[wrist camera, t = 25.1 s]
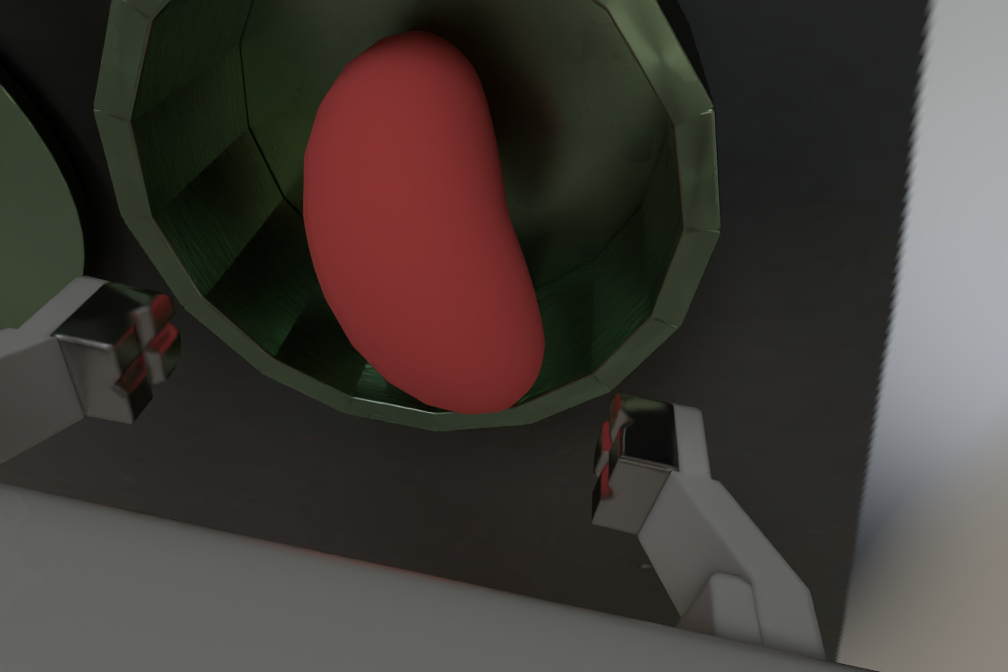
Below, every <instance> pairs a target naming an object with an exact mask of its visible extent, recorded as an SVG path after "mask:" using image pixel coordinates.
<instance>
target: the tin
mask: <svg viewBox="0 0 1008 672" xmlns="http://www.w3.org/2000/svg"><path fill="white" fill-rule="evenodd" d="M417 30H418V31H426V32H430V33H433V34H435V35H438V36H440V37H442V38H443V39H445V40H447V41H448V42H450V43H451V44H452V45H454V46H455V47H456V48H457V49H458V50H459V51H460V52H461V53H462V54H463V55H464V56H465V57H466V58H467V59H468V60H469V62H470V63H471V64H472V66H473V67H474V69H475V70H476V72H477V74H478V76H479V78H480V80H481V83H482V86H483V90H484V93H485V96H486V99H487V102H488V106H489V110H490V114H491V119H492V123H493V127H494V132H495V137H496V142H497V147H498V152H499V157H500V163H501V169H502V175H503V182H504V189H505V195H506V202H507V207H508V211H509V215H510V219H511V222H512V225H513V228H514V231H515V233H516V236H517V239H518V242H519V244H520V247H521V250H522V252H523V255H524V258H525V261H526V264H527V267H528V270H529V273H530V277H531V280H532V284H533V287H534V290H535V294H536V298H537V303H538V307H539V311H540V314H541V319H542V325H543V331H544V338H545V349H544V355H543V361H542V366H541V370H540V372H539V375H538V377H537V379H536V381H535V382H534V384H533V386H532V387H531V388H530V390H529V391H528V392H527V393H526V394H525V395H524V396H523V397H522V398H520V399H519V400H518V401H517V402H516V403H515V404H513V405H512V406H511V407H509V408H507V409H505V410H503V411H499V412H491V413H480V414H462V413H458V412H454V411H450V410H446V409H442V408H438V407H434V406H430V405H426V404H425V403H423V402H421V401H419V400H418V399H416V398H414V397H413V396H411V395H409V394H408V393H406V392H404V391H402V390H401V389H399V388H397V387H396V386H394V385H392V384H390V383H389V382H388V381H387V380H386V379H385V378H384V377H383V376H382V375H381V374H380V373H379V372H378V371H377V370H376V369H375V368H374V367H373V366H372V365H371V364H370V363H369V362H368V361H367V360H366V359H365V358H364V357H363V356H362V355H361V354H360V353H359V352H358V351H357V350H356V349H355V348H354V347H353V346H352V344H351V343H350V341H349V339H348V337H347V336H346V334H345V332H344V330H343V329H342V327H341V325H340V323H339V322H338V320H337V318H336V317H335V315H334V313H333V311H332V310H331V308H330V306H329V304H328V303H327V301H326V299H325V297H324V294H323V292H322V289H321V286H320V284H319V281H318V278H317V275H316V272H315V269H314V265H313V262H312V258H311V254H310V250H309V246H308V241H307V236H306V230H305V224H304V217H303V189H304V155H305V151H306V148H307V145H308V141H309V138H310V134H311V131H312V128H313V124H314V121H315V117H316V114H317V111H318V107H319V106H320V104H321V102H322V101H323V99H324V98H325V96H326V95H327V93H328V92H329V90H330V89H331V87H332V86H333V84H334V83H335V81H336V80H337V78H338V77H339V75H340V74H341V72H342V71H343V69H344V67H345V66H346V65H347V64H348V63H349V62H351V61H352V60H353V59H354V58H356V57H357V56H358V55H360V54H361V53H362V52H364V51H365V50H366V49H368V48H369V47H370V46H372V45H373V44H374V43H376V42H377V41H379V40H380V39H383V38H385V37H388V36H393V35H397V34H401V33H405V32H410V31H417ZM93 106H94V110H93V111H94V115H95V119H96V123H97V127H98V130H99V134H100V138H101V142H102V146H103V149H104V153H105V157H106V161H107V165H108V169H109V172H110V176H111V180H112V184H113V188H114V191H115V195H116V199H117V203H118V207H119V210H120V214H121V217H122V218H124V222H125V223H126V225H127V226H128V228H129V229H130V231H131V232H132V233H133V235H134V236H135V238H136V239H137V241H138V242H139V244H140V245H141V247H142V248H143V250H144V251H145V253H146V254H147V256H148V257H149V259H150V260H151V262H152V263H153V265H154V266H155V268H156V269H157V271H158V272H159V274H160V275H161V277H162V278H163V280H164V281H165V283H166V284H167V286H168V287H169V289H170V290H171V292H172V293H173V295H174V296H175V297H176V299H177V300H178V302H179V303H180V305H181V306H184V309H185V310H186V311H187V312H188V313H190V314H191V315H192V316H193V317H194V318H196V319H197V320H198V321H199V322H200V323H202V324H203V325H204V326H205V327H206V328H208V329H209V330H210V331H211V332H212V333H213V334H215V335H216V336H217V337H218V338H219V339H221V340H222V341H223V342H224V343H225V344H227V345H228V346H229V347H230V348H231V349H232V350H234V351H235V352H236V353H237V354H238V355H240V356H241V357H242V358H243V359H244V360H246V361H247V362H248V363H249V364H250V365H251V366H253V367H254V368H255V369H256V370H257V371H260V373H261V374H262V375H265V376H267V377H269V378H271V379H273V380H275V381H277V382H279V383H281V384H283V385H286V386H288V387H290V388H292V389H294V390H296V391H298V392H300V393H302V394H304V395H307V396H309V397H311V398H313V399H315V400H317V401H319V402H321V403H323V404H325V405H328V406H330V407H332V408H334V409H336V410H338V411H340V412H342V413H344V414H349V415H353V416H358V417H363V418H368V419H374V420H379V421H384V422H389V423H394V424H399V425H404V426H409V427H415V428H420V429H425V430H430V431H435V432H436V431H440V432H444V431H457V430H469V429H482V428H495V427H508V426H521V425H526V424H528V425H530V424H533V423H535V422H538V421H540V420H543V419H545V418H547V417H550V416H552V415H555V414H557V413H560V412H562V411H565V410H567V409H570V408H572V407H575V406H577V405H579V404H582V403H584V402H587V401H589V400H592V399H594V398H597V397H599V396H602V395H604V394H606V393H609V392H610V391H611V390H613V389H615V388H616V387H617V386H618V385H619V384H620V383H621V382H622V381H623V380H624V379H625V378H626V377H627V376H628V375H629V374H631V373H632V372H633V371H634V370H635V369H636V368H637V367H638V366H639V365H640V364H641V363H642V362H643V361H644V360H646V359H647V358H648V357H649V356H650V355H651V354H652V353H653V352H654V351H655V350H656V349H657V348H658V347H659V346H661V345H662V344H663V343H664V342H665V341H666V340H667V339H668V338H669V337H670V336H671V335H672V334H673V333H674V332H676V331H677V330H678V328H679V327H680V326H682V324H683V321H684V319H685V316H686V314H687V312H688V309H689V307H690V305H691V302H692V300H693V297H694V295H695V293H696V290H697V288H698V286H699V283H700V281H701V278H702V276H703V274H704V271H705V269H706V267H707V264H708V262H709V259H710V257H711V255H712V252H713V250H714V248H715V245H716V243H717V240H718V238H719V236H720V233H721V229H720V228H721V208H720V190H719V171H718V152H717V133H716V114H715V108H714V103H713V99H712V96H711V93H710V90H709V86H708V83H707V80H706V77H705V74H704V70H703V67H702V64H701V61H700V57H699V54H698V51H697V48H696V44H695V41H694V38H693V35H692V31H691V28H690V25H689V22H688V21H687V19H686V17H685V15H684V13H683V11H682V9H681V7H680V5H679V4H678V2H677V0H112V1H111V6H110V12H109V18H108V24H107V30H106V36H105V41H104V47H103V53H102V59H101V65H100V70H99V76H98V82H97V88H96V94H95V100H94V105H93Z"/></svg>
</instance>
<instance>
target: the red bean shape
mask: <svg viewBox="0 0 1008 672" xmlns="http://www.w3.org/2000/svg"><path fill="white" fill-rule="evenodd" d="M303 217H304V224H305V230H306V236H307V241H308V246H309V250H310V254H311V258H312V262H313V265H314V269H315V272H316V275H317V278H318V281H319V284H320V286H321V289H322V292H323V294H324V297H325V299H326V301H327V303H328V304H329V306H330V308H331V310H332V311H333V313H334V315H335V317H336V318H337V320H338V322H339V323H340V325H341V327H342V329H343V330H344V332H345V334H346V336H347V337H348V339H349V341H350V343H351V344H352V346H353V347H354V348H355V349H356V350H357V351H358V352H359V353H360V354H361V355H362V356H363V357H364V358H365V359H366V360H367V361H368V362H369V363H370V364H371V365H372V366H373V367H374V368H375V369H376V370H377V371H378V372H379V373H380V374H381V375H382V376H383V377H384V378H385V379H386V380H387V381H388V382H389V383H390V384H392V385H394V386H396V387H397V388H399V389H401V390H402V391H404V392H406V393H408V394H409V395H411V396H413V397H414V398H416V399H418V400H419V401H421V402H423V403H425V404H426V405H430V406H434V407H438V408H442V409H446V410H450V411H454V412H458V413H462V414H480V413H491V412H499V411H503V410H505V409H507V408H509V407H511V406H512V405H513V404H515V403H516V402H517V401H518V400H519V399H520V398H522V397H523V396H524V395H525V394H526V393H527V392H528V391H529V390H530V388H531V387H532V386H533V384H534V382H535V381H536V379H537V377H538V375H539V372H540V370H541V366H542V361H543V355H544V349H545V338H544V331H543V325H542V319H541V314H540V311H539V307H538V303H537V298H536V294H535V290H534V287H533V284H532V280H531V277H530V273H529V270H528V267H527V264H526V261H525V258H524V255H523V252H522V250H521V247H520V244H519V242H518V239H517V236H516V233H515V231H514V228H513V225H512V222H511V219H510V215H509V211H508V207H507V202H506V195H505V189H504V182H503V175H502V169H501V163H500V157H499V152H498V147H497V142H496V137H495V132H494V127H493V123H492V119H491V114H490V110H489V106H488V102H487V99H486V96H485V93H484V90H483V86H482V83H481V80H480V78H479V76H478V74H477V72H476V70H475V69H474V67H473V66H472V64H471V63H470V62H469V60H468V59H467V58H466V57H465V56H464V55H463V54H462V53H461V52H460V51H459V50H458V49H457V48H456V47H455V46H454V45H452V44H451V43H450V42H448V41H447V40H445V39H443V38H442V37H440V36H438V35H435V34H433V33H430V32H426V31H418V30H417V31H410V32H405V33H401V34H397V35H393V36H388V37H385V38H383V39H380V40H379V41H377V42H376V43H374V44H373V45H372V46H370V47H369V48H368V49H366V50H365V51H364V52H362V53H361V54H360V55H358V56H357V57H356V58H354V59H353V60H352V61H351V62H349V63H348V64H347V65H346V66H345V67H344V69H343V71H342V72H341V74H340V75H339V77H338V78H337V80H336V81H335V83H334V84H333V86H332V87H331V89H330V90H329V92H328V93H327V95H326V96H325V98H324V99H323V101H322V102H321V104H320V106H319V107H318V111H317V114H316V117H315V121H314V124H313V128H312V131H311V134H310V138H309V141H308V145H307V148H306V151H305V155H304V189H303Z"/></svg>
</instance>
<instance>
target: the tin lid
mask: <svg viewBox="0 0 1008 672" xmlns="http://www.w3.org/2000/svg"><path fill="white" fill-rule="evenodd" d="M92 256H93V236H92V225H91V221H90V216H89V212H88V208H87V203H86V200H85V197H84V195H83V192H82V189H81V186H80V184H79V181H78V178H77V176H76V174H75V172H74V170H73V168H72V166H71V164H70V161H69V159H68V157H67V155H66V153H65V151H64V149H63V148H62V146H61V144H60V143H59V141H58V140H57V138H56V136H55V135H54V133H53V131H52V130H51V128H50V127H49V125H48V123H47V122H46V120H45V119H44V117H43V116H42V115H41V113H40V112H39V111H38V109H37V108H36V107H35V105H34V104H33V103H32V101H31V100H30V99H29V97H28V96H27V95H26V93H25V92H24V91H23V89H22V88H21V87H20V86H19V85H18V84H17V82H16V81H15V80H14V79H13V78H12V77H11V76H10V74H9V73H8V72H7V71H6V70H5V69H4V68H3V67H2V65H1V64H0V330H2V329H5V328H8V327H9V328H14V329H18V328H19V327H20V326H22V325H23V324H24V323H25V322H26V321H27V320H28V319H29V318H31V317H32V316H33V315H34V314H35V313H36V312H37V311H39V310H40V309H41V308H42V307H43V306H44V305H45V304H47V303H48V302H49V301H50V300H51V299H52V298H53V297H54V296H56V295H57V294H58V293H59V292H60V291H61V290H62V289H64V288H65V287H66V286H67V285H68V284H69V283H70V282H72V281H73V280H74V279H75V278H77V277H81V276H85V275H86V276H89V273H90V270H91V266H92Z"/></svg>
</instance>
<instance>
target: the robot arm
mask: <svg viewBox="0 0 1008 672" xmlns="http://www.w3.org/2000/svg"><path fill="white" fill-rule="evenodd" d="M174 314H175V309H174V305H173V301H172V298H171V297H169V296H167V295H166V294H162V293H158V292H154V291H150V290H146V289H142V288H138V287H133V286H129V285H125V284H121V283H117V282H110V281H106V280H102V279H98V278H94V277H90V276H86V275H85V276H81V277H77V278H75V279H74V280H73V281H72V282H70V283H69V284H68V285H67V286H66V287H65V288H64V289H62V290H61V291H60V292H59V293H58V294H57V295H56V296H54V297H53V298H52V299H51V300H50V301H49V302H48V303H47V304H45V305H44V306H43V307H42V308H41V309H40V310H39V311H37V312H36V313H35V314H34V315H33V316H32V317H31V318H29V319H28V320H27V321H26V322H25V323H24V324H23V325H22V326H20V327H19V328H18V329H14V328H9V327H8V328H5V329H2V330H0V464H2V463H4V462H6V461H8V460H9V459H11V458H13V457H15V456H17V455H18V454H20V453H22V452H24V451H26V450H27V449H29V448H31V447H33V446H35V445H36V444H38V443H40V442H42V441H43V440H45V439H47V438H49V437H51V436H52V435H54V434H56V433H58V432H60V431H61V430H63V429H65V428H67V427H69V426H70V425H72V424H74V423H76V422H78V421H79V420H81V419H83V418H84V415H86V416H91V417H96V418H102V419H107V420H112V421H118V422H123V423H128V424H133V423H134V421H135V420H136V419H137V417H138V416H139V415H140V414H141V412H142V411H143V410H144V408H145V407H146V406H147V405H148V403H149V402H150V401H151V400H152V398H153V396H152V390H151V387H153V386H155V385H157V384H160V383H162V382H164V381H166V380H167V379H168V377H169V376H170V375H171V373H172V372H173V371H174V369H175V367H176V364H177V361H178V358H179V356H180V347H181V340H180V335H179V331H178V330H177V329H176V328H175V327H174V326H173V324H172V323H171V322H170V321H169V320H170V319H171V317H172V316H173V315H174ZM593 473H594V475H595V476H596V478H597V479H598V481H597V483H596V486H595V488H594V491H593V494H592V524H596V525H600V526H604V527H608V528H612V529H616V530H620V531H624V532H628V533H633V534H637V535H638V536H637V537H638V539H639V541H640V543H641V545H642V547H643V548H644V550H645V552H646V554H647V556H648V558H649V559H650V561H651V563H652V565H653V567H654V569H655V570H656V572H657V574H658V576H659V578H660V580H661V581H662V583H663V585H664V587H665V589H666V591H667V592H668V594H669V596H670V598H671V600H672V602H673V603H674V605H675V607H676V609H677V611H678V613H679V614H680V616H681V620H680V621H679V623H678V624H677V625H676V627H670V626H665V625H661V624H656V623H651V622H647V621H642V620H638V619H633V618H628V617H624V616H619V615H614V614H610V613H605V612H601V611H596V610H591V609H587V608H582V607H577V606H573V605H568V604H563V603H559V602H554V601H550V600H545V599H540V598H536V597H531V596H526V595H522V594H517V593H513V592H508V591H503V590H499V589H494V588H489V587H485V586H480V585H475V584H471V583H466V582H461V581H457V580H452V579H447V578H443V577H438V576H433V575H429V574H424V573H419V572H415V571H410V570H405V569H401V568H396V567H391V566H387V565H382V564H378V563H373V562H368V561H364V560H359V559H354V558H350V557H345V556H340V555H336V554H331V553H326V552H322V551H317V550H313V549H308V548H303V547H299V546H294V545H289V544H285V543H280V542H276V541H271V540H266V539H262V538H257V537H252V536H248V535H243V534H239V533H234V532H229V531H225V530H220V529H215V528H211V527H206V526H202V525H197V524H192V523H188V522H183V521H178V520H174V519H169V518H165V517H160V516H155V515H151V514H146V513H141V512H137V511H132V510H127V509H123V508H118V507H113V506H109V505H104V504H100V503H95V502H90V501H86V500H81V499H76V498H72V497H67V496H62V495H58V494H53V493H49V492H44V491H39V490H35V489H30V488H25V487H21V486H16V485H11V484H7V483H2V482H0V672H878V671H874V670H869V669H864V668H859V667H855V666H850V665H846V664H841V663H837V662H832V661H827V660H826V657H825V652H824V648H823V644H822V640H821V636H820V632H819V627H818V623H817V619H816V615H815V611H814V607H813V602H812V598H811V594H810V590H809V589H808V588H807V586H806V585H805V584H804V583H803V582H802V580H801V579H800V578H799V577H798V576H797V574H796V573H795V572H794V571H793V570H792V568H791V567H790V566H789V565H788V563H787V562H786V561H785V560H784V559H783V557H782V556H781V555H780V554H779V553H778V551H777V550H776V549H775V548H774V547H773V545H772V544H771V543H770V542H769V540H768V539H767V538H766V537H765V536H764V534H763V533H762V532H761V531H760V530H759V528H758V527H757V526H756V525H755V524H754V522H753V521H752V520H751V519H750V517H749V516H748V515H747V514H746V513H745V511H744V510H743V509H742V508H741V507H740V505H739V504H738V503H737V502H736V501H735V499H734V498H733V497H732V496H731V494H730V493H729V492H728V491H727V490H726V488H725V487H724V486H723V485H722V484H721V482H720V481H716V480H712V479H711V472H710V465H709V458H708V451H707V444H706V437H705V430H704V423H703V416H702V412H701V411H700V409H699V408H694V407H689V406H684V405H679V404H674V403H671V404H670V403H667V402H663V401H658V400H653V399H648V398H644V397H639V396H634V395H629V394H624V393H620V392H617V393H616V394H615V396H614V397H613V400H612V402H611V405H610V414H609V421H607V422H605V423H603V425H602V428H601V431H600V434H599V437H598V441H597V445H596V449H595V456H594V469H593Z"/></svg>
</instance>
